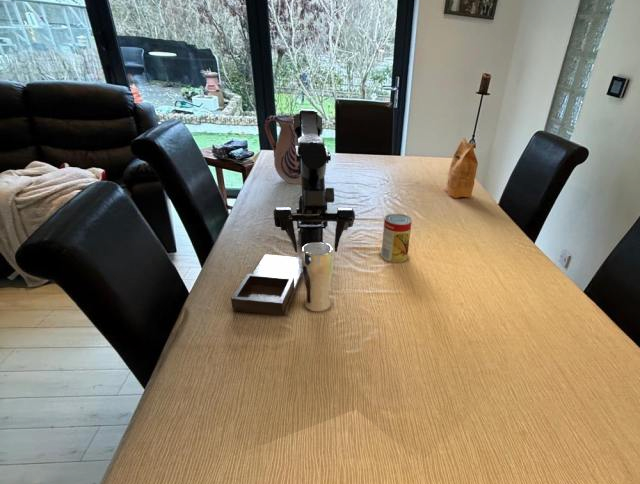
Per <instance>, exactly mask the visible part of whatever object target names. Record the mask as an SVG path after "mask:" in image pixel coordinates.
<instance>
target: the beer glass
mask: <svg viewBox="0 0 640 484" xmlns="http://www.w3.org/2000/svg"><path fill="white" fill-rule="evenodd" d="M301 250H302V252H301V253H302V254H301V258H302V272H303V275H302V278H303V282H304V286H305V290H306V291H305V292H306V296H305V302H304V306H305V307H306V309H307V310H309V311H310V312H311V311H312V312H323V311H326V310H328V309H329V308H330V307H331V297H330V287H331V282H332V277H333V272H334V256H333V247H332V246H331V245H330V244H329V243H325V242H323V243H322V242H312V243H308V244H306V245H304V246H303V247H302V249H301Z"/></svg>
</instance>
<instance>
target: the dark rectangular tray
mask: <svg viewBox="0 0 640 484" xmlns="http://www.w3.org/2000/svg"><path fill="white" fill-rule="evenodd" d="M302 278H303V272H302V257H299V256H288V255H287V256H286V255H277V254H264V255H263V256H262V258H261V260H260V261H259V263H258V264H257V266H256V267H255V269H254V271H253V272H252V273H247V274H246V275H245V276H244V278H243V279H242V281H241V282H240V284H239V285H238V287H237V289H236V290H235V292H233V294H232V295H231V298H230V304H231V308H232V311H233V312H240V313H241V312H243V313H251V314H252V313H255V314H264V315H277V316H286V315H287V313H288V310H289V309H290V306H291V304H292V301H293V298H294V296H295V294H296V291H297V290H298V287H299V284H300V282H301V279H302Z"/></svg>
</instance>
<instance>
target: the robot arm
mask: <svg viewBox="0 0 640 484" xmlns="http://www.w3.org/2000/svg"><path fill="white" fill-rule="evenodd" d="M292 116H293V134H296V142H297V143H298V145H299V146H296V162H299V165H300V166H301V184H300V187H301V188H300V189H301V190H300V191H301V195H300V196H299V199H298V207H296V209H295V210H296V211H295V212H292V207H275V208H274V209H273V221H274V226H275V227H276V228H280V231H285V233H286V235H287V237H288V238H289V240H290V242H291V245H292V247H293V250H294V253H298V244H299V245H300V247H302V248H303V246H304V245H306V244H308V243H312V242H322V243H324V229H326V228H327V227H329V226H328V225H329V224H328V223H329V222H335V223H336V225H335V232H334V252H335V253H337V252H338V247H339V244H340V241H341V237H342V235H343V232H344V231H348V230H349V228H352V227H353V226H354V223H355V220H356V213H355V210H354V208H352V207H338V208H337V211H336V212H328V204H329V203H331V204H332V203H334V202H335V189H334V188H335V187H326V182H325V181H326V180H325V176H326V172H327V171H326V170H327V164H329V163H330V161H332V155H331V153H330V151H329V149H328V147H327V146H325V141H324V139H323V137H321V136H322V135H323V131H324V130H323V127H324V126H323V117H322V116H321V115H319V114H318V111H317V110H316V109H299V110H298V112H297V114H293V115H292ZM294 222H296V229H297V238H296V232H295V231H296V230H295V225H294Z"/></svg>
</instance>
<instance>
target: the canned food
mask: <svg viewBox="0 0 640 484" xmlns="http://www.w3.org/2000/svg"><path fill="white" fill-rule="evenodd" d="M412 222H413V219H412V218H411V217H410V216H408V215H407V214H403V213H388V214H386V215H384V219H383V231H382V242H381V252H380V253H381V255H380V256H381V258H382V259H383V260H385V261H387V262H390V263H402V262H405V261H406V260H407V259H408V255H409V246H410V239H411V231H412Z"/></svg>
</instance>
